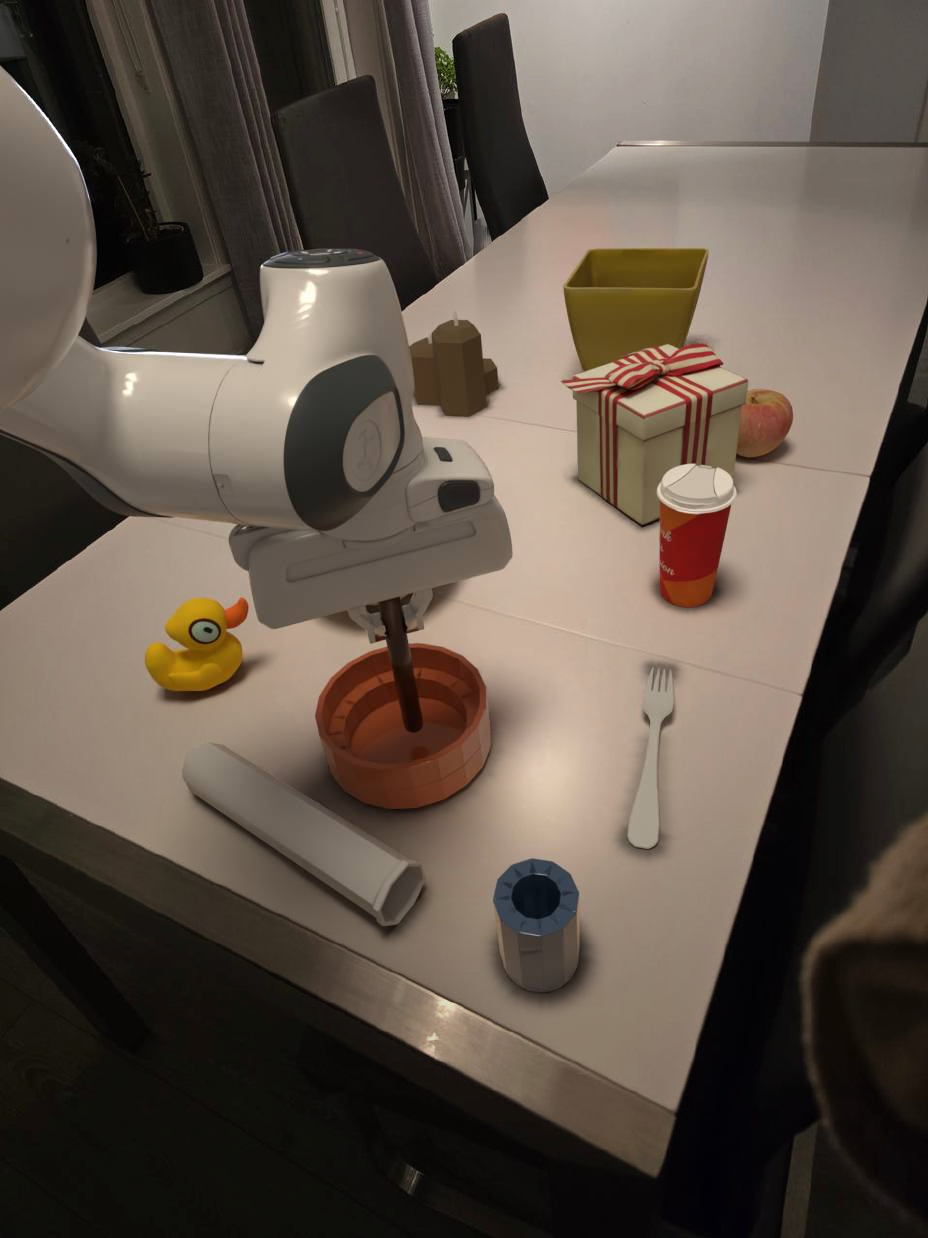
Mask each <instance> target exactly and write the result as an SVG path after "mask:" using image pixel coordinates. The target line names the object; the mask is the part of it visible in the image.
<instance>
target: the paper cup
mask: <svg viewBox="0 0 928 1238" xmlns="http://www.w3.org/2000/svg"><path fill="white" fill-rule="evenodd" d="M699 467H700V468H699ZM715 470H716V471H715ZM737 494H738V493H737V488H736V487H735V485H734V478H733V479H732V478H731V476H730V475H729V474H728V473H727V472H726V471H724V470H722V469H720V468H718V467H717V469H713V468H712V467H711V466H705V465H700V466H696V464H685V465H681V466H677V467H675V468H672V469H671V470H669V471H668V472H667V473H666V474H665V475H664V476H663V479H662V481H661V483H660V484H659V485H658V487H657V495H658V498H659V499H660V518H659V560H658V561H659V565H658V566H659V591H660V595H661V597H662V598H663V599H664V600H665V601H666V602H668V603H669V604H672V605H674V606H677V607H683V608H694V607H699V606H702V605H704V604H706V603H707V602H708V601H709V600H710V599H711V597H712V595H713V592H714V587H715V583H716V579H717V574H718V569H719V566H720V560H721V556H722V551H723V546H724V541H725V537H726V532H727V527H728V522H729V518H730V513H731V509H732V504H734V502H735V501H736V499H737Z"/></svg>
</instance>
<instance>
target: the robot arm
mask: <svg viewBox="0 0 928 1238" xmlns="http://www.w3.org/2000/svg"><path fill="white" fill-rule="evenodd" d="M83 175H84V174H83V172H82V170H81V167H80V165H79V162H78V160H77V158H76V157H75V155H74V153H73V152H72V150H71V148H70V147H69V146H68V144H67V143H66V141H65V140H64V139H63V137H62V136H61V134H60V133H59V131H58V130H57V129H56V127H55V126H54V125H53V123H52V122H51V121H50V119H49V117H47V116H46V114H45V112H43V111H42V109H41V108H40V106H38V105H37V104H36V102H35V101H34V100H33V98H32V97H31V96H30V95H29V94H28V93H27V92H26V90H25V89H24V88H23V87H22V86H21V85H20V84H19V83H18V82H17V81H16V80H15V79H14V78H13V76H12V75H11V74H10V73H8V71H6V69H5V68H3V67H2V66H1V65H0V436H3V437H5V438H8V439H10V440H13V441H16V442H18V443H20V444H22V445H24V446H27V447H29V448H31V449H33V450H35V451H37V452H40V453H41V454H43V455H44V456H46V457H48V458H49V459H50V460H52V461H53V462H55V463H56V464H57V465H59V466H60V467H61V468H62V469H63V470H64V471H65V472H66V473H67V474H68V475H69V476H70V477H71V478H72V479H73V480H74V481H75V482H76V483H77V484H78V485H79V487H81V488H82V489H83V490H84V492H86V493H87V494H88V495H90V497H91V498H93V499H94V500H95V501H96V502H98V503H99V504H100V505H102V506H103V507H104V508H106V509H108V510H110V511H112V512H114V513H116V514H119V515H121V516H126V517H132V518H133V517H135V518H165V519H166V518H167V519H168V518H169V519H173V518H179V519H188V520H198V521H204V522H205V521H207V522H214V523H224V524H232V525H235V526H233V528H232V529H231V530H230V533H229V534H228V545H229V546H228V547H229V548H230V551H231V555H232V558H233V560H234V562H235V563H236V565H237V566H238V567H239V568H241V569H242V570H244V571H246V572H247V573H248V580H249V586H250V587H249V588H250V591H251V597H252V601H253V606H254V610H255V615H256V618H257V620H258V622H259V623H260V624H262V625H263V626H265V627H267V628H268V629H271V630H278V629H282V628H285V627H289V626H294V625H296V624H297V625H298V624H301V623H304V622H308V621H312V620H315V619H320V618H323V617H328V616H331V615H335V614H339V613H342V612H347V613H348V616H349V619H351V620H352V621H353V622H354V623H355V624H357V625H358V626H359V627H361V629H363V630H365V633H366V636H367V638H368V642H369V645H371V644H375V643H380V642H382V641H386V639H387V635H386V630H385V625H384V622H383V620H382V619H381V614H380V611H379V612H375V613H371V614H370V613H369V612H368V611H367V607H366V606H370V605H369V604H373V603H377V602H381V601H385V600H388V599H392V598H396V597H400V596H404V595H406V596H408V595H411V594H412V595H411V598H410V600H409V603H408V604H405V605H402V610H403V617H404V622H405V628H406V632H407V635H408V634H412V633H417V632H419V631H424V630H425V624H424V619H423V618H424V617H423V615H424V614H425V613H426V611H427V609H428V607H429V605H430V603H431V601H432V600H433V598H434V593H433V588H438V587H441V586H445V585H449V584H453V583H457V582H460V581H464V580H468V579H472V578H475V577H480V576H484V575H487V574H491V573H495V572H499V571H502V570H504V569H506V567H507V566H508V564H509V563H510V561H511V560H512V558H513V555H514V554H513V542H512V536H511V530H510V526H509V522H508V518H507V514H506V511H505V510H504V508H503V506H502V504H501V502H500V501H499V500H498V498H497V496H496V494H495V483H494V479H493V476H492V475H491V473H490V470H489V467H488V466H487V464H486V463H485V461H484V460H483V458H482V457H481V456H480V455H479V453H478V452H477V451H476V450H475V449H474V448H473V447H472V446H471V445H470V444H469V443H468V442H467V441H465V440H463V439H457V438H443V437H441V438H440V437H428V436H423V435H422V431H421V429H420V426H419V425H418V423H417V420H416V418H415V415H414V410H413V401H414V400H413V399H414V395H413V394H414V374H413V367H412V360H411V355H410V349H409V346H410V344H409V339H408V334H407V329H406V325H405V320H404V315H403V311H402V308H401V303H400V301H399V296H398V294H397V290H396V287H395V284H394V281H393V279H392V275H391V272H390V270H389V268H388V265H387V263H386V262H385V261H384V260H383V259H382V258H381V257H379V256H378V255H376V254H374V253H373V252H371V251H368V250H364V249H359V248H315V249H299V250H291V251H285V252H282V253H278V254H276V255H273V256H271V257H270V258H269V259H267V260H266V261H264V262H263V263H262V264H261V265H260V269H259V289H260V290H259V291H260V296H261V297H260V298H261V299H260V300H261V307H262V314H263V315H262V316H263V321H264V322H263V326H262V328H261V331H260V333H259V335H258V338H257V340H256V342H255V343H254V345H253V347H252V348H250V350H249V351H248V353H247V354H246V355H243V354H242V355H240V354H222V353H221V354H220V353H219V354H218V353H199V352H198V353H195V352H194V353H193V352H175V351H173V352H172V351H170V352H169V351H164V350H158V349H150V348H140V347H128V346H109V347H108V346H107V347H98V346H96V345H94V344H92V343H91V342H89V341H87V340H86V339H84V338H83V337H82V336H80V335H79V334H80V333H81V329H82V327H83V325H84V322H85V320H86V318H87V314H88V312H89V308H90V304H91V301H92V297H93V294H94V293H93V292H94V289H95V282H96V274H97V273H96V272H97V259H98V250H97V249H98V247H97V246H98V245H97V232H96V224H95V219H94V214H93V209H92V204H91V199H90V196H89V192H88V188H87V185H86V182H85V178H84V176H83ZM407 594H408V595H407Z"/></svg>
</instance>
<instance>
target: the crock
mask: <svg viewBox="0 0 928 1238" xmlns="http://www.w3.org/2000/svg"><path fill="white" fill-rule="evenodd" d="M496 880H497V881H496V883H495V887H494V892H493V897H492V904H493V911H494V920H495V925H496V933H497V942H498V949H499V955H500V957H501V960H502V961H501V962H502V965H503V968H504V970H505V973H506V974H507V976H508V977H509V978H510V979H511V981H513V982H514V984H516V985H517V986H518V987H520V988H522V989H524V990H526V991H529V992H533V993H539V994H540V993H550V992H553V991H556V990H558V989H560V988H562V987H563V986H565V985H566V984H568V982H569V981H570V980H571V979H572V978H573V976H574V975H575V973H576V971H577V969H578V966H579V965H578V964H579V958H580V957H579V956H580V947H581V946H580V941H581V940H580V891H579V888H578V887H577V884H576V882H575V880H574V878H573V875H572V874H571V873H570V872H569V871H568V870H566V869H565V868H564V867H562V866H560V865H559V864H558V863H556V862H555V861H552V860H546V859H541V858H540V859H539V858H533V857H532V858H527V859H525V860H521V861H518V862H515V863H513V864H511V865H509V867H507V868H506V870H505V871H504V872H503V873H502V874H501V875H500V876H499V877H498V878H497V879H496Z"/></svg>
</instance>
